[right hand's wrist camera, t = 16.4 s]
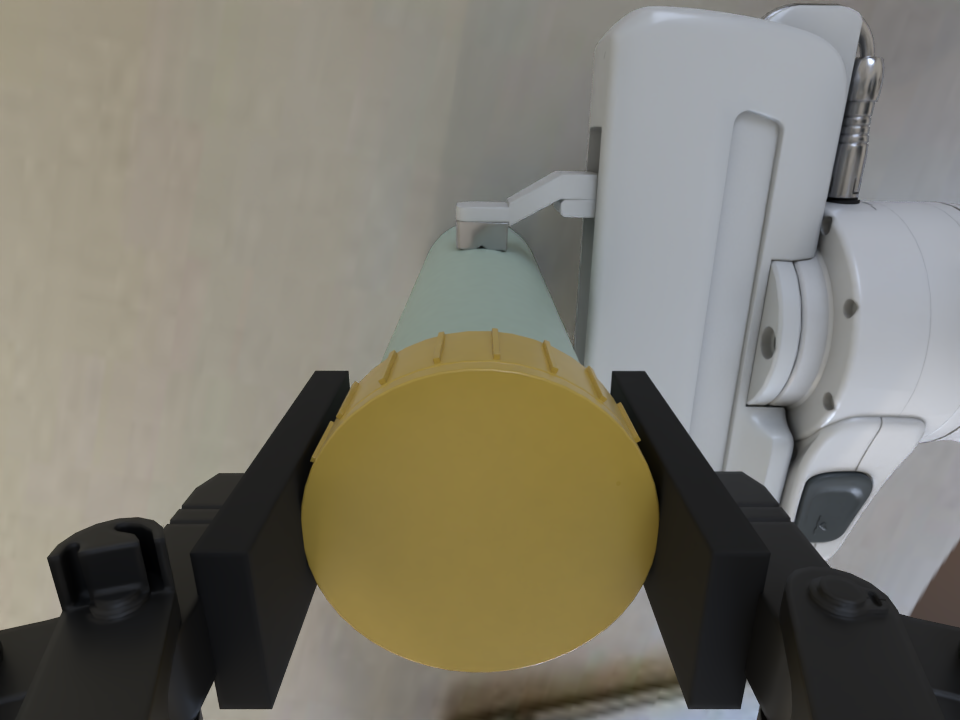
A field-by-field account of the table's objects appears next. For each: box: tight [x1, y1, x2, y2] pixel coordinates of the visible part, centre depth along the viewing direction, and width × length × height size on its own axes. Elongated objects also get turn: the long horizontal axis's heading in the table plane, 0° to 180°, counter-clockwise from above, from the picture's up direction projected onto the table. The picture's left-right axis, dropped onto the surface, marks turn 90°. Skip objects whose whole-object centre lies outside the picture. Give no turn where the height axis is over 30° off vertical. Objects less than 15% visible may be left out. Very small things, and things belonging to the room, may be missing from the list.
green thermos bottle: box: [381, 226, 580, 363], centre depth 20 cm, size 5×5×19 cm
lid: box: [301, 328, 659, 672], centre depth 11 cm, size 6×6×2 cm
